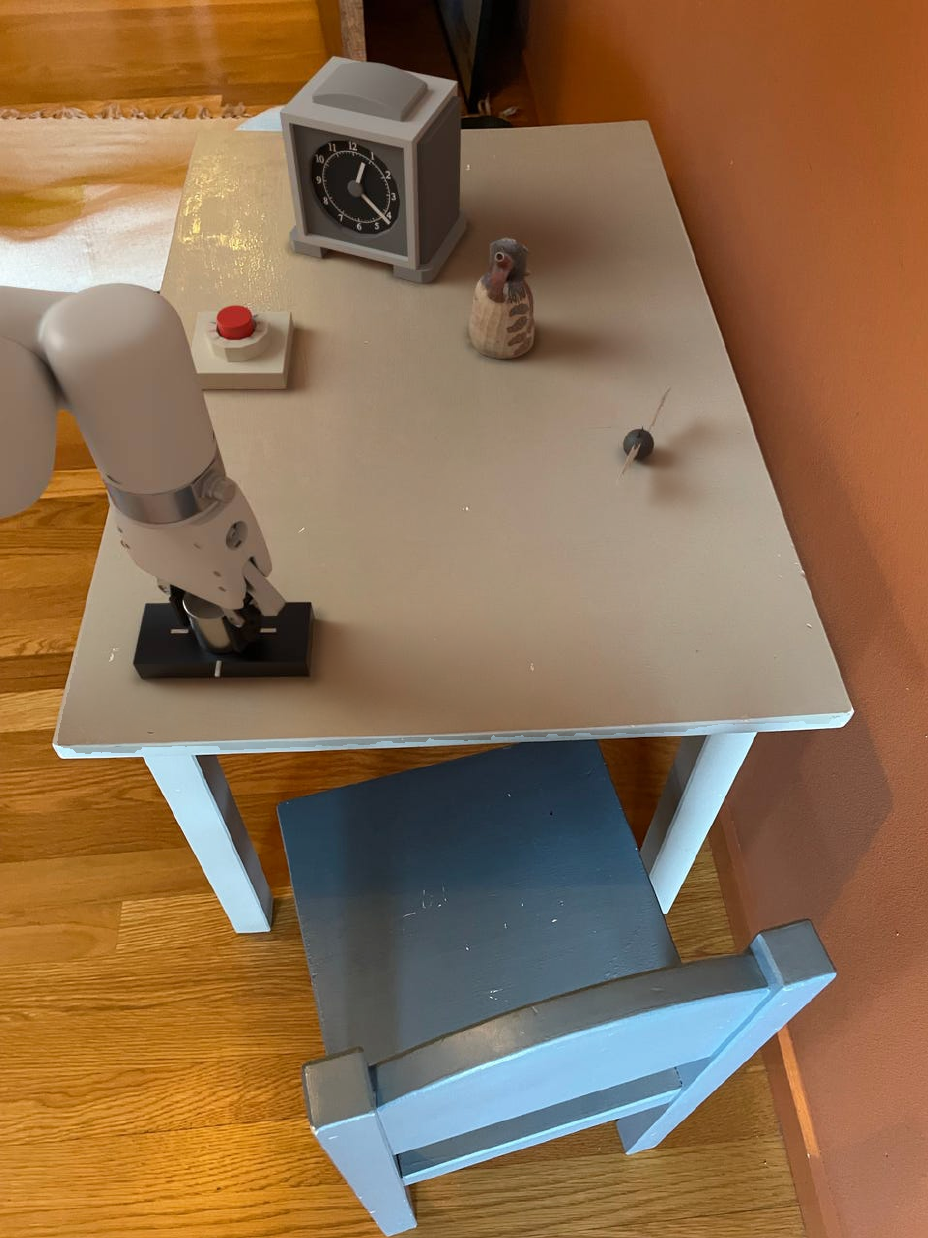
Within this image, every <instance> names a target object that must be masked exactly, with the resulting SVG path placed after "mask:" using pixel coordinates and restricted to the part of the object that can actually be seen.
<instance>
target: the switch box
mask: <svg viewBox="0 0 928 1238" xmlns="http://www.w3.org/2000/svg"><path fill="white" fill-rule="evenodd" d="M245 307H246V306H245ZM246 308H248V309H249V310H250V311H251V313H252V318H253V322H254V327H255V329H254V332H253V334H252V335H251V336H250V337H247V338H244V339H242V340H227V339H225V338H224V337H222V335H221V334H220V331H219V327H218V323H217V314H218V313H219V312H220V311H221V310H199V311H198V314H197V320H196V324H195V328H194V333H193V338H192V342H191V347H190V350H191V354H192V357H193V361H194V364H195V368H196V371H197V374H198V378H199V381H200V385H201V388H202V390H286V389H287V384H288V377H289V368H290V360H291V352H292V345H293V337H294V329H295V327H294V326H295V325H294V320H293V314H292V311H291V310H257V309H253V308H251V307H246Z"/></svg>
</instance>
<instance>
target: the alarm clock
mask: <svg viewBox="0 0 928 1238" xmlns="http://www.w3.org/2000/svg"><path fill="white" fill-rule="evenodd" d="M458 83H459V82H458V81H457V80H453V79H447V78H442V77H438V76H433V75H428V74H424V73H417V72H414V71H409V70H404V69H400V68H398V67H395V66H391V65H388V64H385V63H380V62H371V61H359V60H354V59H350V58H345V57H341V56H335V55H332V56H331V58H329V60H328V61H327V62H326V63H325V64H324V65H323V66H322V67H321V68H320V69H319V70H318V71H317V72H315V75H313V76H312V77H311V79H309V80H308V82H306V84H305V85H303V87H301V89H299V91H298V92H297V93H296V94H295V95H294V96H293V97H292V98H291V99H290V100H289V101H288V102H287V103H286V104H285V106H284V107H283V108H282V109H281V110H280V111H279V117H280V125H281V131H282V137H283V145H284V151H285V159H286V165H287V172H288V179H289V185H290V193H291V200H292V207H293V212H294V220H295V225H294V226H293V228H292V229H291V230H290V232H289V241H290V246H291V250H292V251H294V252H295V253H297V254H298V253H299V254H302V255H306V256H310V257H315V258H318V259H322V258H323V257H324V256H325V255H326V253H328V251H329V250H333V251H336V252H341V253H345V254H349V255H353V256H357V257H362V258H365V259H368V260H374V261H378V262H381V263H385V264H390V265H392V267H393V277H394V278H398V279H402V280H407V281H410V282H414V283H419V284H429V283H430V282H433V281H435V278H436V276H437V275H438V273H439V272H440V270H441V268H442V267H443V265H444V264H445V263H446V261H447V260H448V258H449V256H450V255H451V253H452V251H453V250H454V249H455V247H456V245H457V243H458V242H459V241H460V239H461V237H462V236H463V234H464V233H465V231H466V230H467V215H466V212H464V211H463V210H462V209H461V162H462V161H461V156H462V155H461V152H462V99H463V98H462V97H461V96H458V85H459V84H458Z"/></svg>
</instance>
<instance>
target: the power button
mask: <svg viewBox="0 0 928 1238" xmlns="http://www.w3.org/2000/svg"><path fill="white" fill-rule="evenodd" d="M248 308H249V307H248ZM248 308H246V306H243V305H237V304H236V305H229V306H225V307H224V308H221V309H220V310H219V311H220V312H219V313H218V314H217V323H218V327H219V331H220V334H221V335H222V337H224V338H225V339H227V340H242V339H244V338H247V337H250V336H251V335H252V334H253V332H254V329H255V327H254V322H253V318H252V313H251V311H250V310H249V309H248Z"/></svg>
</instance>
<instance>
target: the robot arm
mask: <svg viewBox="0 0 928 1238" xmlns="http://www.w3.org/2000/svg"><path fill="white" fill-rule="evenodd" d="M60 411H66V412H68V413H70V414H71V415H72V416H73V418H74V420H75V422H76V425H77V427H78V429H79V432H80V434H81V436H82V438H83V440H84V442H85V443H84V444H85V445H86V447H87V450H88V451H89V453H90V455H91V457H92V459H93V462H94V464H95V467H96V469H97V471H98V473H99V475H100V477H101V480H102V482H103V484H104V486H105V488H106V493H107V499H108V503H109V507H110V510H111V513H112V516H113V520H114V523H115V526H116V528H117V531H118V533H119V536H120V538H121V540H120V544H121V546H122V547H123V548H124V549H126V551H127V553H128V555H129V557H130V558H131V560H132V561H133V563H134V564H135V565H136V566H137V568H140V569H141V570H142V571H144V572H145V573H147V574H149V575H151V576H153V577H155V578H156V583H157V587H158V589H159V591H161V592H162V593H163V594H165V595H167V596H169V597H168V601H169V603H171V605H172V607H173V610H174V612H175V614H176V617H177V619H178V621H179V623H180V625H182V626H184V627H189V626H190V625H191V623H190V620H189V618H188V616H187V613H186V611H185V608H184V606H183V596H184V593H185V591H187V592H189V593H191V594H194V595H196V596H198V597H200V598H203V599H205V600H207V601H209V602H212V603H214V604H216V605H219V606H220V607H221V608H222V610H223V611H224V613H225V615H226V616H227V620H226V621H225V628H226V630H227V633H228V636H229V638H230V641H231V644H232V647H233V648H234V650H236V651H238V652H242V651H243V650H244V648H245V647H246V646H247V644H248V643H249V642H253V641H254V640H255V639H256V638H257V636H258V635H259V633H260V631H261V624H262V622H261V619H260V615H264V616H277V615H278V614H279V612H280V611H281V610H282V608H283V607H284V606H285V604H286V602H287V600H286V599H285V598H284V597H283V596H282V594H281V593H280V592H279V591H278V590H277V589H276V588H275V586H274V585H273V584H272V583H271V582H270V581H269V580H268V579H267V578H268V577H269V575H270V574H271V573H272V571H273V563H272V559H271V555H270V552H269V548H268V546H267V542H266V539H265V538H264V537H265V536H264V535H263V531H262V530H261V527H260V524H259V521H258V519H257V517H256V515H255V513H254V511H253V509H252V506H251V505H250V503H249V501H248V499H247V498H246V496H245V494H244V493H243V491H242V489H241V488H240V486H239V485H238V483H237V482H236V481H235V480H233V479H231V478H230V477H228V475H227V471H226V468H225V464H224V460H223V457H222V454H221V450H220V447H219V443H218V440H217V437H216V433H215V431H214V426H213V423H212V419H211V416H210V413H209V410H208V406H207V404H206V400H205V396H204V393H203V389H202V388H201V385H200V381H199V378H198V374H197V371H196V368H195V364H194V361H193V357H192V354H191V347H190V343H189V339H188V336H187V332H186V330H185V327H184V324H183V322H182V319H181V316H180V315H179V313H178V312H177V310H176V309H175V307H174V306H173V305H172V303H170V301H169V300H167V299H166V298H165V297H164V296H163V295H162V294H160V293H158V292H157V291H155V290H153V289H151V288H149V287H146V286H144V285H139V284H134V283H124V282H111V283H103V284H98V285H94V286H90V287H87V288H85V289H82V290H79V291H77V292H75V291H74V292H73V291H60V290H59V291H57V290H47V289H37V288H26V287H19V286H10V285H9V286H8V285H0V520H2V519H6V518H9V517H14V516H16V515H18V514H20V513H23V512H25V511H26V510H28V509H30V508H31V507H32V506H33V505H34V504H36V503H37V502H38V501H39V500H40V499H41V498H42V496H43V494H45V492H46V491H47V490H48V487H49V485H50V482H51V479H52V476H53V473H54V468H55V467H54V466H55V460H56V448H57V439H58V437H57V436H58V414H59V412H60Z"/></svg>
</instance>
